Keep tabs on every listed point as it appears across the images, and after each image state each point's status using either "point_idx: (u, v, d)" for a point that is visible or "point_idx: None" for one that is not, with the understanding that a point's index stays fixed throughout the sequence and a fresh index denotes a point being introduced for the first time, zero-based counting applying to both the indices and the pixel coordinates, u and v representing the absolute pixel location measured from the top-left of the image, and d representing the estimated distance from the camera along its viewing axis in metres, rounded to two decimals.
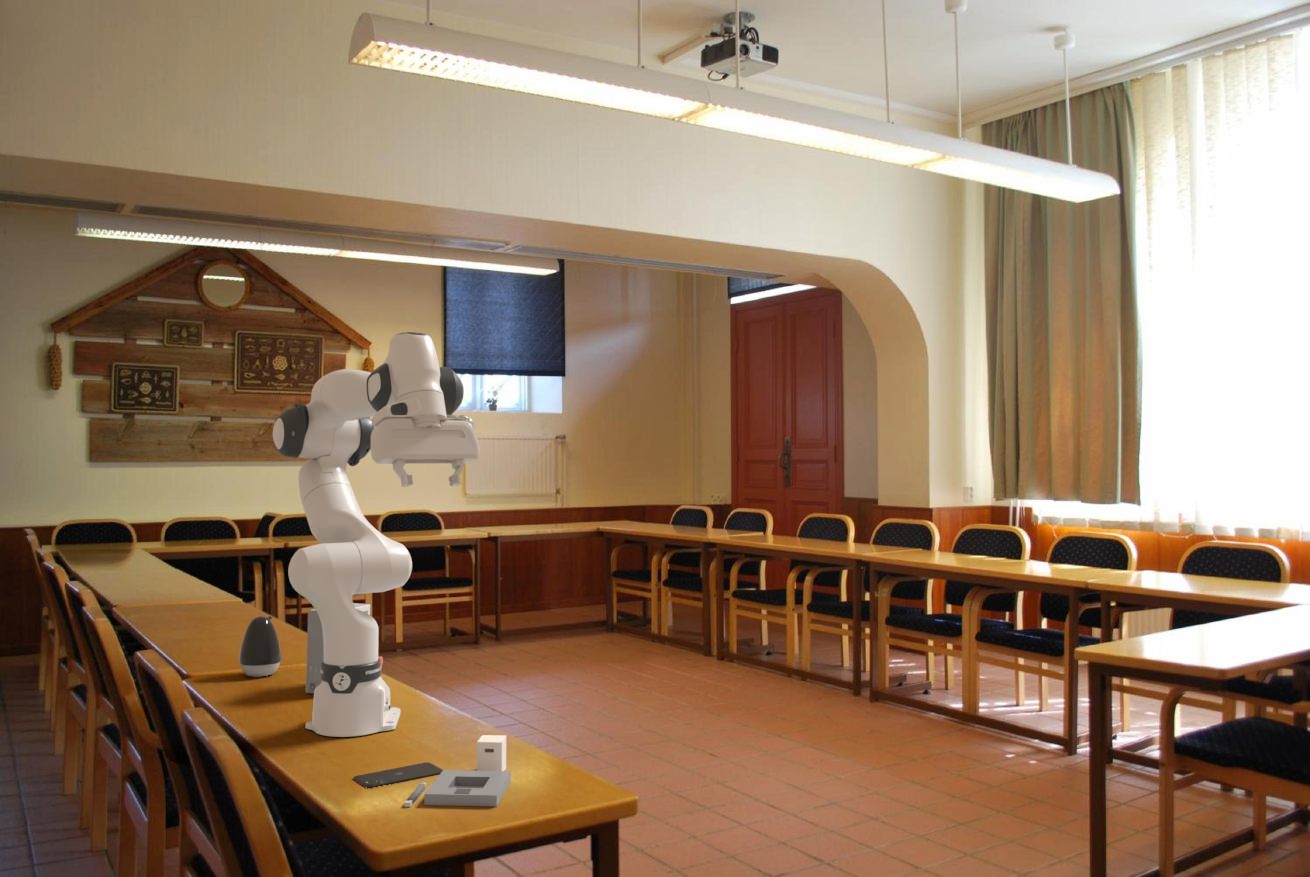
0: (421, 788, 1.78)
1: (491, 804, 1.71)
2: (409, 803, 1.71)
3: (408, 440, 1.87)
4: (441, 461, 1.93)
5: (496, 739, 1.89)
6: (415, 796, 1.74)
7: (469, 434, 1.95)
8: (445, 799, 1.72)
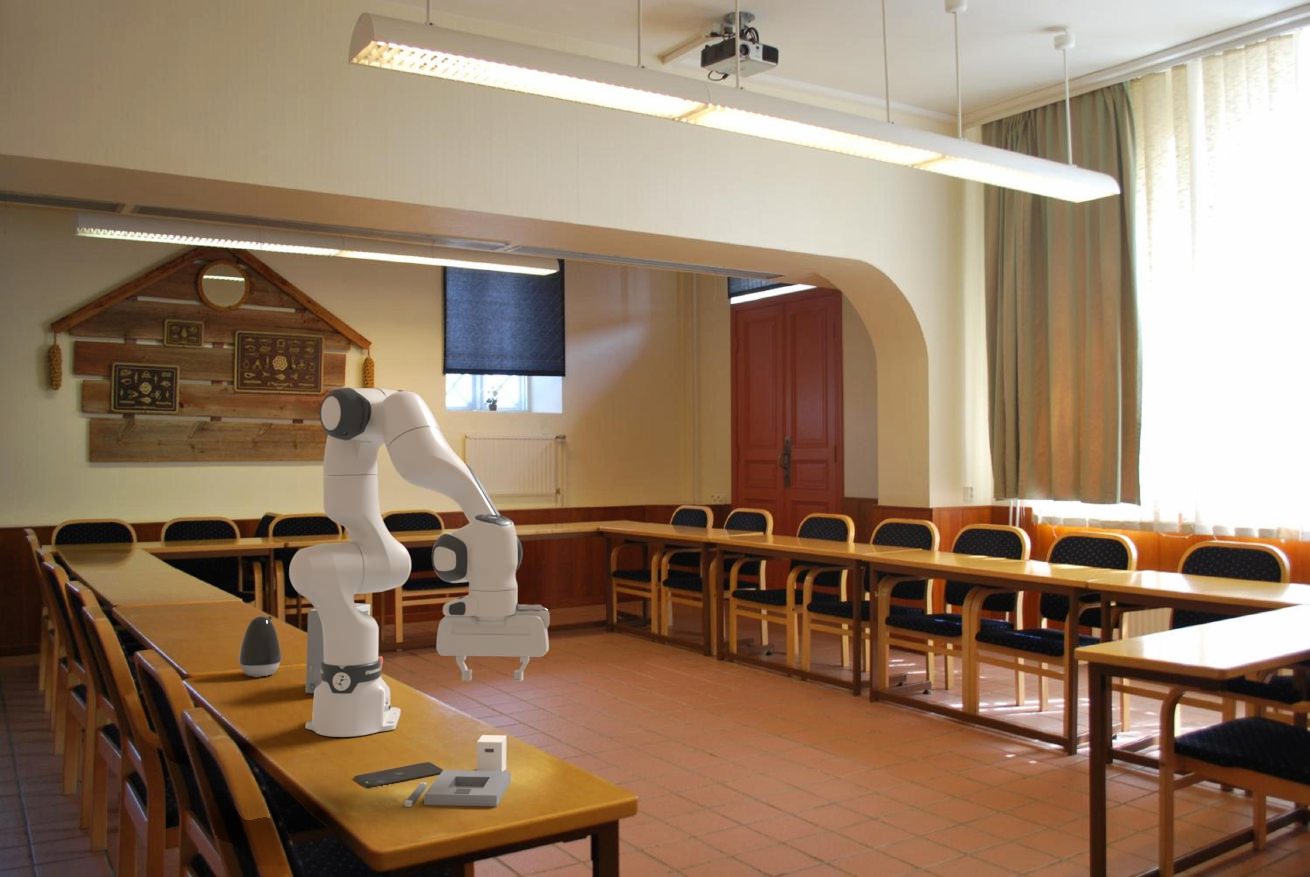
0: (422, 788, 1.78)
1: (491, 804, 1.71)
2: (409, 803, 1.71)
3: (468, 637, 1.88)
4: None
5: (496, 739, 1.89)
6: (416, 796, 1.74)
7: (535, 631, 1.88)
8: (445, 799, 1.72)
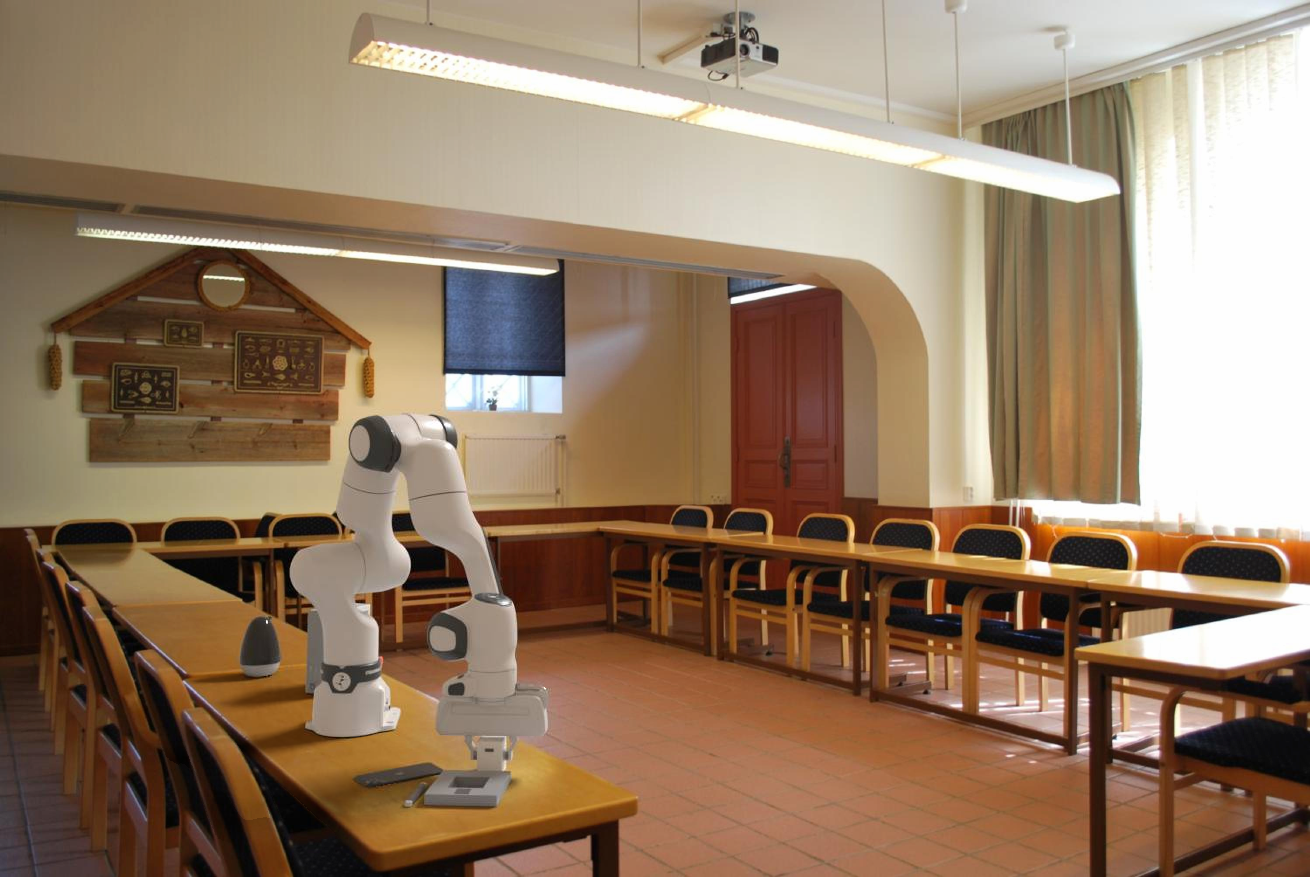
0: (422, 788, 1.78)
1: (491, 804, 1.71)
2: (410, 803, 1.71)
3: (467, 717, 1.88)
4: None
5: (496, 739, 1.89)
6: (416, 796, 1.74)
7: (534, 711, 1.88)
8: (445, 799, 1.72)
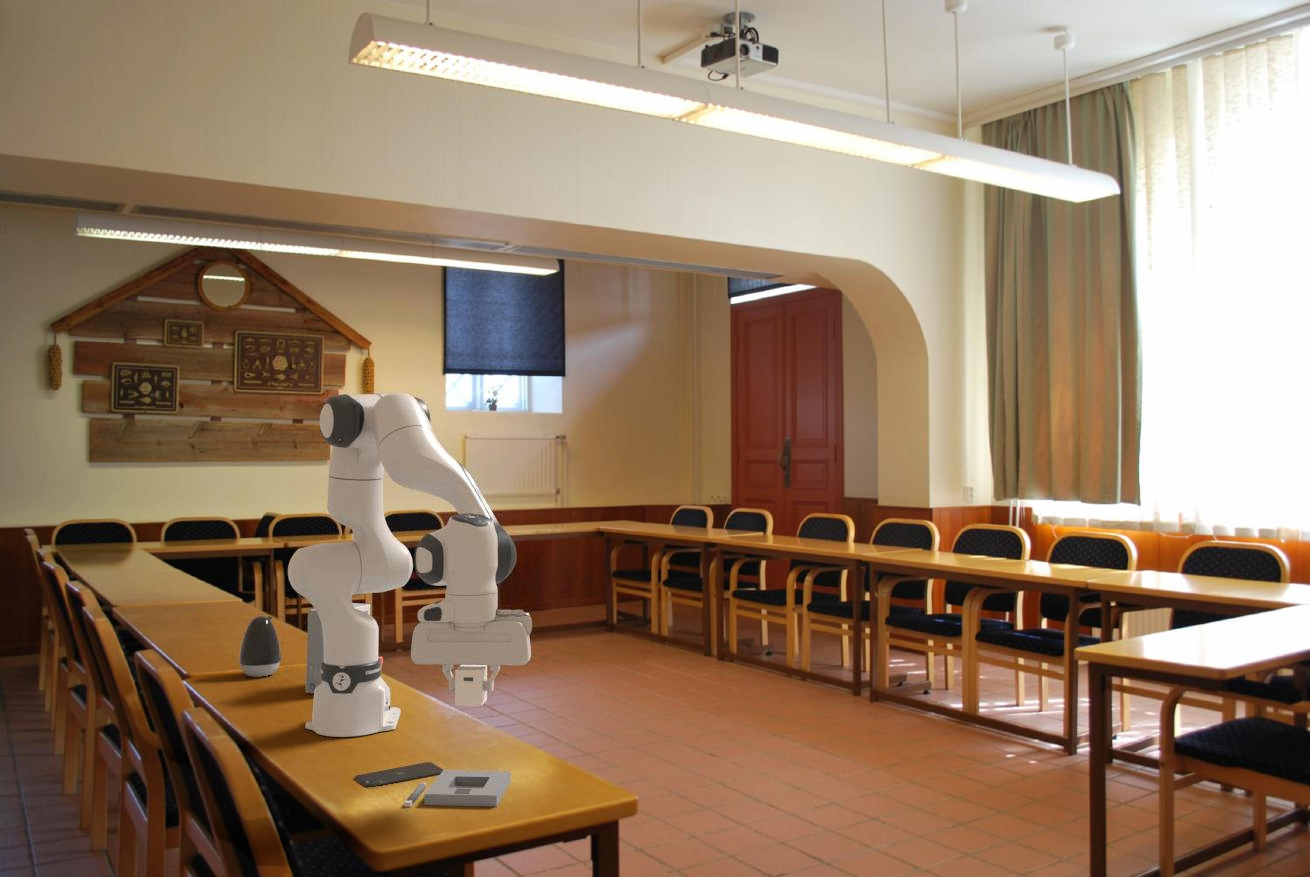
0: (421, 788, 1.78)
1: (491, 804, 1.71)
2: (409, 803, 1.71)
3: (444, 645, 1.77)
4: None
5: (475, 668, 1.78)
6: (415, 796, 1.74)
7: (516, 637, 1.76)
8: (445, 799, 1.72)
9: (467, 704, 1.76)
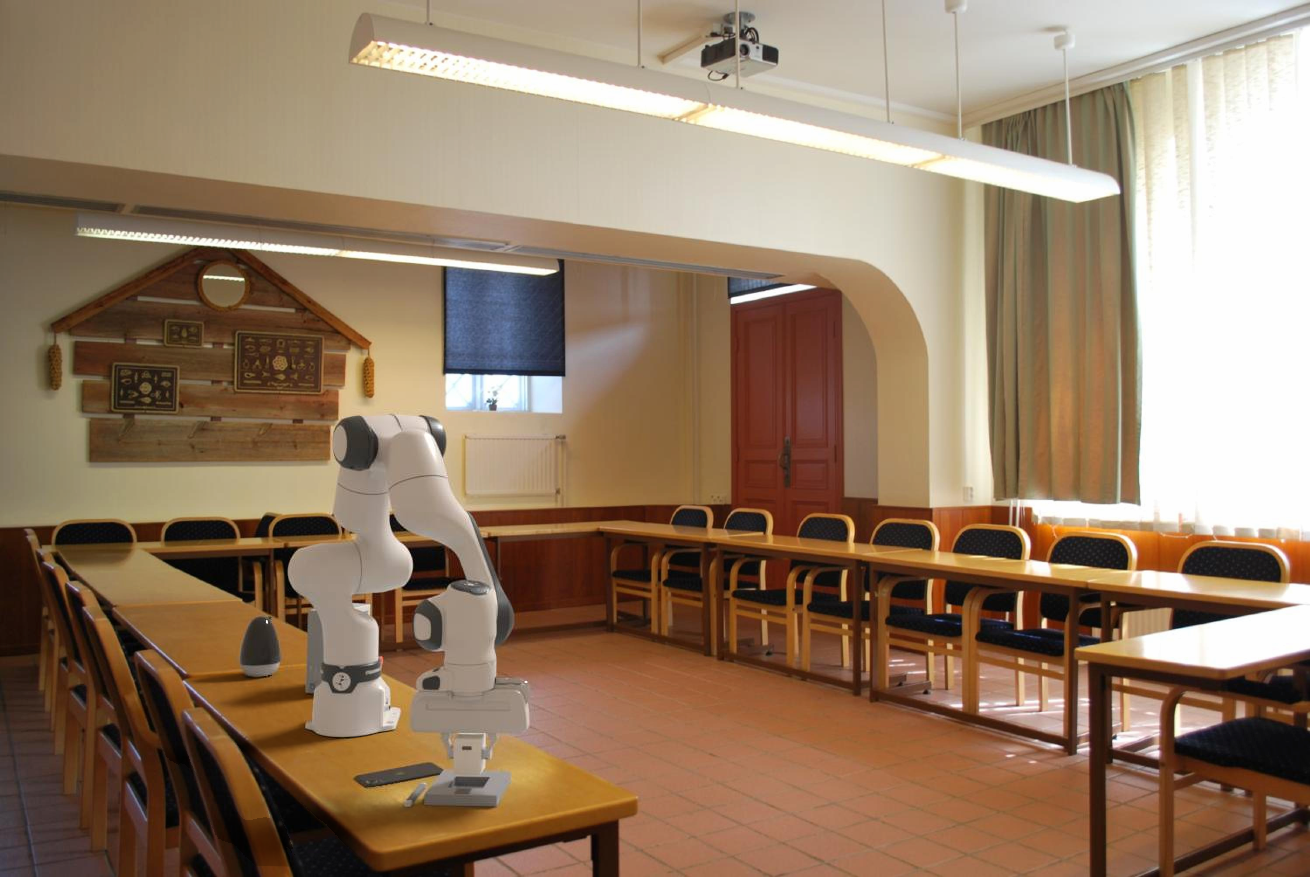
0: (421, 788, 1.78)
1: (491, 804, 1.71)
2: (409, 803, 1.71)
3: (443, 713, 1.76)
4: None
5: (474, 736, 1.77)
6: (415, 796, 1.74)
7: (515, 706, 1.76)
8: (445, 799, 1.72)
9: (465, 773, 1.76)
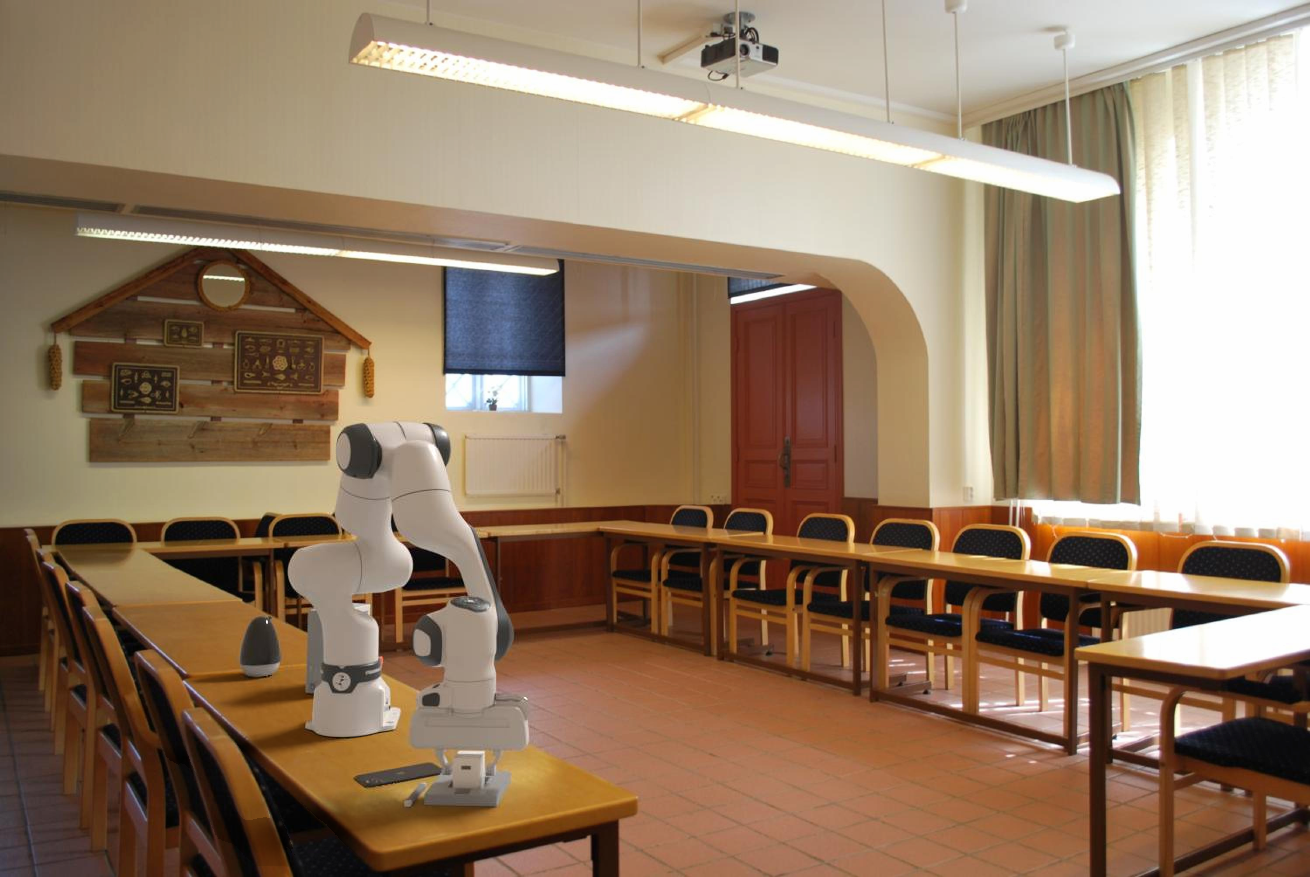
0: (421, 788, 1.78)
1: (491, 804, 1.71)
2: (409, 803, 1.71)
3: (442, 730, 1.76)
4: None
5: (473, 755, 1.77)
6: (415, 796, 1.74)
7: (514, 723, 1.76)
8: (445, 799, 1.72)
9: None
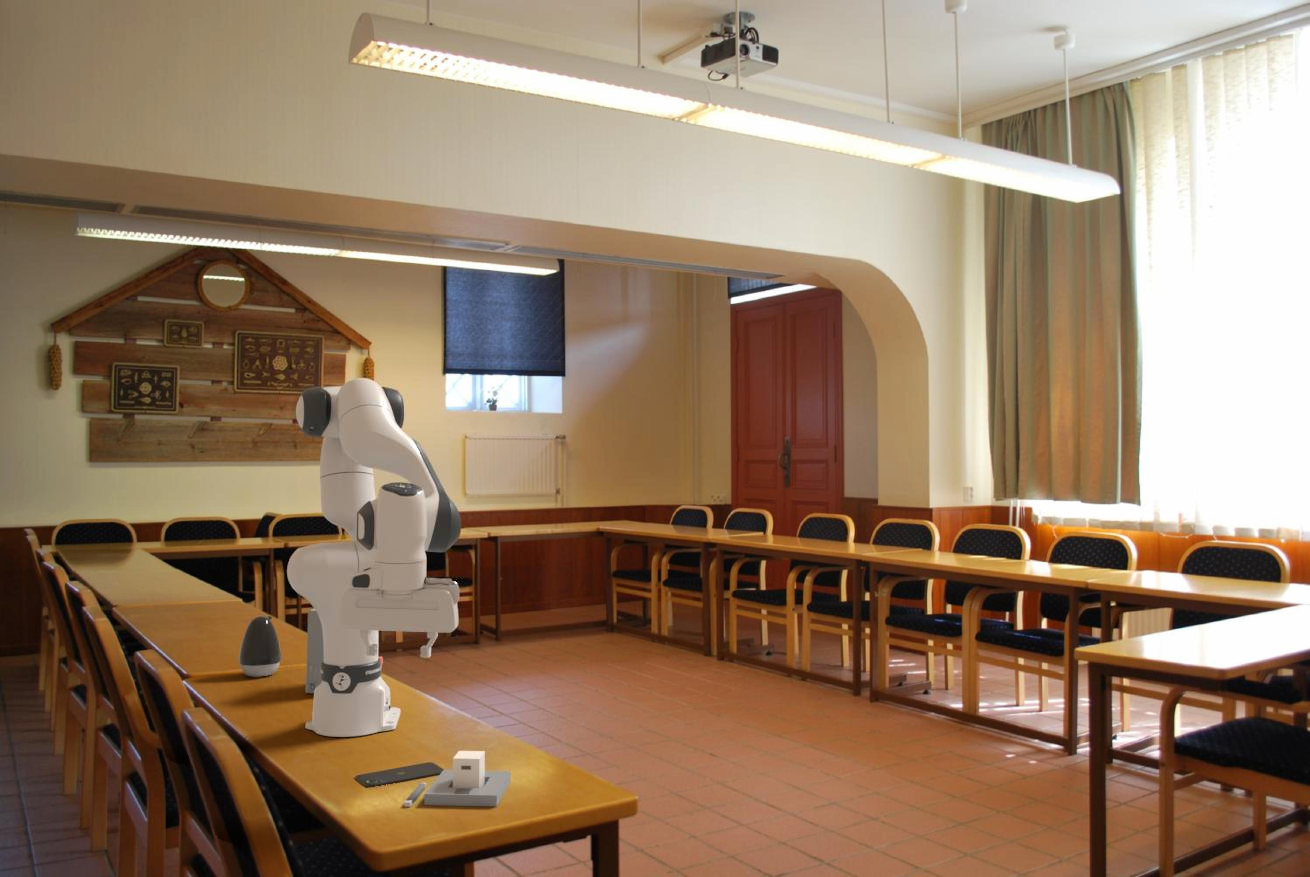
0: (421, 788, 1.78)
1: (491, 804, 1.71)
2: (409, 803, 1.71)
3: (372, 611, 1.80)
4: None
5: (473, 755, 1.77)
6: (415, 796, 1.74)
7: (443, 605, 1.79)
8: (445, 799, 1.72)
9: None
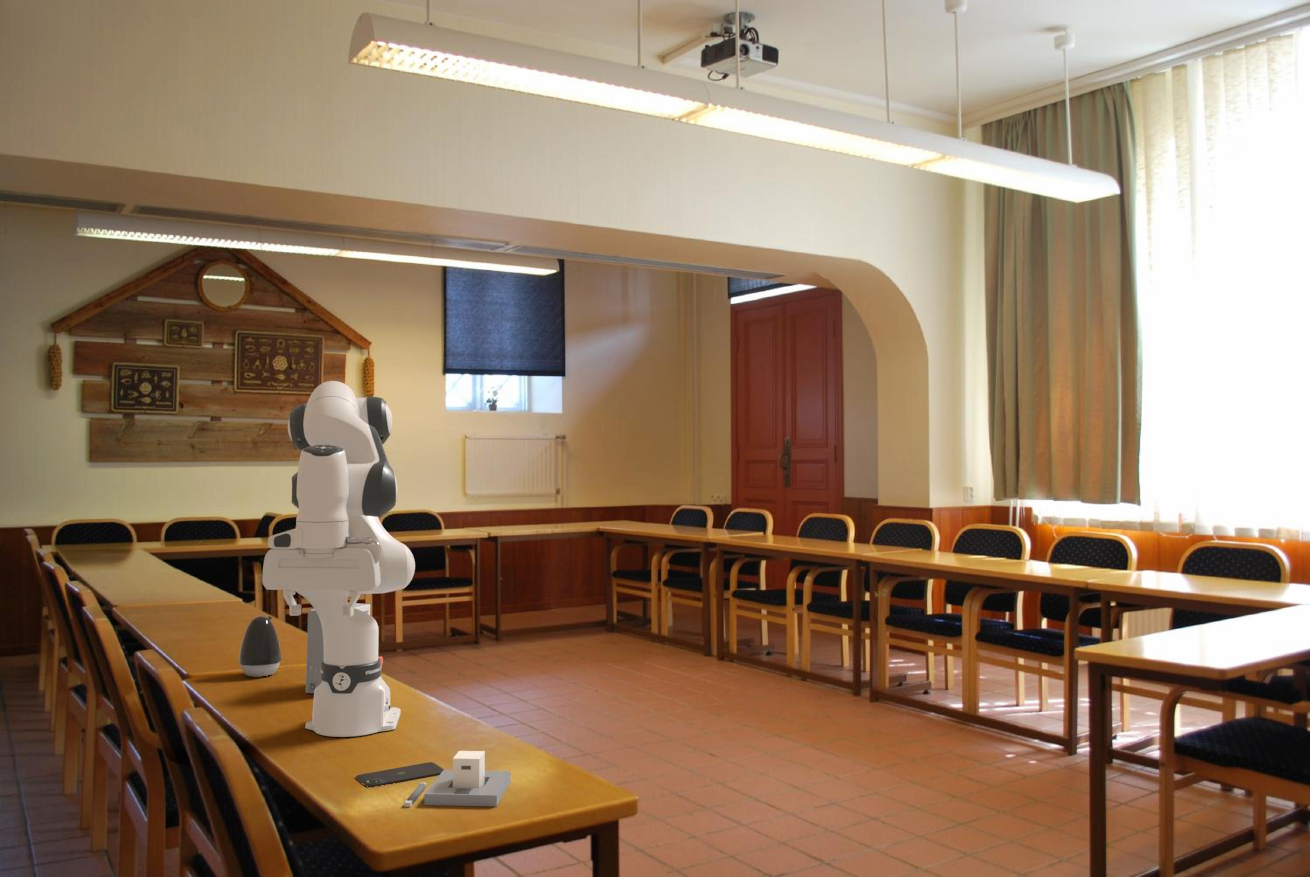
0: (421, 788, 1.78)
1: (491, 804, 1.71)
2: (409, 803, 1.71)
3: (294, 571, 1.82)
4: None
5: (473, 755, 1.77)
6: (415, 796, 1.74)
7: (364, 564, 1.82)
8: (445, 799, 1.72)
9: None
